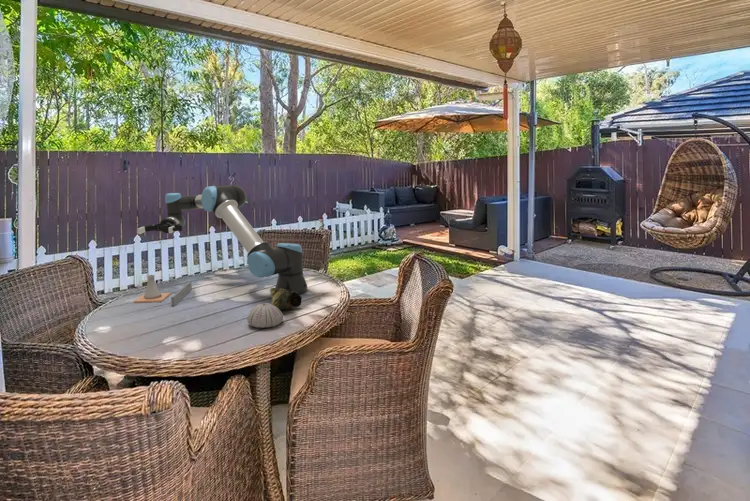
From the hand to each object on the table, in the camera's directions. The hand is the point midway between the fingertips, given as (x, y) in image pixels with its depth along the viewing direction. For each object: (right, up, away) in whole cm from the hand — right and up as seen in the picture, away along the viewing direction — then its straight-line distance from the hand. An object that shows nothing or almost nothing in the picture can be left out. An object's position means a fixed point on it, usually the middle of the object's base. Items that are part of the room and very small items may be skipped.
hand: (154, 231), depth 207 cm
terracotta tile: (+1, -31, -4) cm, 31 cm away
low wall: (+14, -31, -2) cm, 34 cm away
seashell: (+66, -34, -22) cm, 77 cm away
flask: (+1, -30, -4) cm, 31 cm away
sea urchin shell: (+61, -37, -37) cm, 81 cm away
